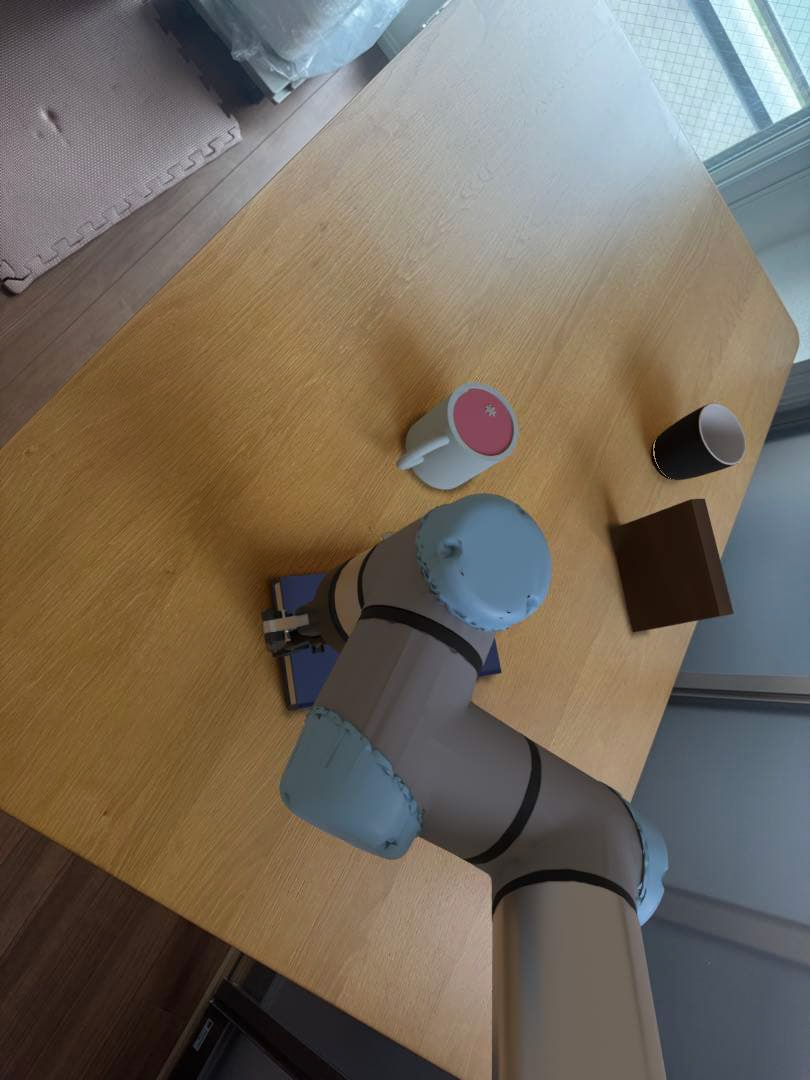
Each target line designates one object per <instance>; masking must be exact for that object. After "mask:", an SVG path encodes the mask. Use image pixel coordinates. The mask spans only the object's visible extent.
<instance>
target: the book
mask: <svg viewBox="0 0 810 1080" xmlns="http://www.w3.org/2000/svg"><path fill="white" fill-rule="evenodd" d="M327 573H328V572H325V573H313V574H303V575H302V574H300V575H290V576H280V577H278V581H273V582H270V587H271V593H272V599H273V606H274V610H279V611H280V610H287V613H293V616H295V612H296V610H297V608H298V607H300V606H302V605H306V604H307V603H309V602H311V601H313V599H314V596H315V593H316V591H317V588H318V586H319V584H320V582H321V581H322V579H323V578H324V577H325V575H326V574H327ZM497 646H498V645H497V640H496V637H495V638H494V640H493V643H492V645H491V648H490V650H489V653H488V655H487V658H486V660H485V663H484V665H483V669H482V671H481V673H480V676H479V678H484V677H490V676H495V675H500V674H502V667H501V662H500V657H499V651H498V647H497ZM324 649H325V652H324V653H318V654H312V650H311V645H310V643H309V648H308V649H306V650H303V651H300V652H297V653H294V654H291V655H288V656H282V657H280V658H281V666H282V674H283V681H284V689H285V695H286V704H287V710H288V712H292V711H293V712H294V711H299V710H305V709H306V710H307V709H310V708H311V707H312V706H313V704H314V703H315V701H316V699H317V697H318V695H319V693H320V691H321V689H322V688H323V686H324V684H325V682H326V680H327V678H328V676H329V674H330V672H331V671H332V669H333V667H334V665H335V663H336V661H337V659H338V657H339V655H340V654H339V653H338V652H336V651H335V650H334V649H332V648H331V647H330V646H329V645H324Z"/></svg>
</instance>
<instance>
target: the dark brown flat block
mask: <svg viewBox="0 0 810 1080" xmlns="http://www.w3.org/2000/svg"><path fill="white" fill-rule="evenodd" d="M712 525H713V524H712V521H711V516H710V514H709V508H708V505H707V501H706V498H691V499H687V500H685V501H682V502H680V503H676V504H674V505H672V506H668V507H666V508H664V509H660V510H658V511H656V512H653V513H650V514H647V515H645V516H642V517H640V518H638V519H637V518H636V519H633V520H631V521H629V522H626V523H623V524H620V525H618V526H615V527H613V528H610V529H609V533H610V537H611V542H612V547H613V552H614V555H615V561H616V564H617V569H618V572H619V573H618V574H619V579H620V583H621V586H622V593H623V596H624V600H625V606H626V610H627V614H628V618H629V623H630V626H631V627H630V628H631V632H632V633H639V632H646V631H651V630H657V629H663V628H666V627H671V626H672V627H673V626H678V625H683V624H689V623H693V622H699V621H704V620H708V619H715V618H719V617H724V616H725V617H726V616H730V615H734V613H735V612H734V610H733V605H732V601H731V597H730V592H729V589H728V585H727V581H726V578H725V573H724V569H723V565H722V561H721V556H720V553H719V549H718V545H717V541H716V538H715V532H714V530H713V526H712Z"/></svg>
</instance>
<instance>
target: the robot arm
mask: <svg viewBox="0 0 810 1080" xmlns="http://www.w3.org/2000/svg"><path fill="white" fill-rule="evenodd" d="M381 539H382V541H380V542H378V543H376V544H375V545H373V546H371V547H369V548H368V549H365V550H364V551H362V552H360V553H358V554H357V555H354V556H351V557H350V558H348V559H346V560H345V561H343V562H341V563H339V564H338V565H336V566H335V567H333V568H332V569H330V570H329V571H328V572H326V573H327V574H326V575H325V577H324V578H323V579H322V581H321V582H320V584H319V586H318V588H317V591H316V593H315V596H314V599H313V601H311V602H309V603H307V604H306V605H302V606H300V607H298V608H297V610H296V612H295V616H293V613H287V610H280V611H279V610H275V609H273V608H266V609H265V610H263V611H260V614H261V621H262V630H263V637H264V644H265V646H266V652H268V653H271V654H272V658H273V659H275V658H281V657H282V656H288V655H291V654H294V653H297V652H300V651H303V650H306V649H308V648H309V643H310V645H311V650H312V654H318V653H324V652H325V649H324V645H329V646H330V647H331V648H332V649H334V650H335V651H336V652H338V653H339V654H340V655H339V657H338V659H337V661H336V663H335V665H334V667H333V669H332V671H331V672H330V674H329V676H328V678H327V680H326V682H325V684H324V686H323V688H322V689H321V691H320V693H319V695H318V697H317V699H316V701H315V703H314V704H313V706H312V707H311V708H308V710H307V712H306V713H305V719H304V724H303V726H302V728H301V731H300V733H299V736H298V738H297V740H296V743H295V745H294V747H293V749H292V752H291V754H290V757H289V759H288V761H287V763H286V765H285V768H284V770H283V772H282V774H281V777H280V780H279V794H280V798H281V800H282V803H283V805H284V806H285V807H286V808H287V809H288V810H289V811H290V812H291V813H292V814H293V815H294V816H296V817H298V818H299V819H301V820H302V821H304V822H306V823H307V824H310V825H311V826H313V827H315V828H316V829H318V830H320V831H322V832H323V833H326V834H328V835H329V836H331V837H334V838H337V839H339V840H341V841H343V842H344V843H347V844H348V845H350V846H352V847H354V848H357V849H359V850H361V851H363V852H366V853H368V854H370V855H373V856H375V857H379V858H380V859H381V858H382V859H385V860H389V861H396V860H399V859H402V858H403V857H404V856H406V854H407V853H408V851H409V850H410V849H411V847H412V845H413V843H414V841H415V840H416V839H417V838H420V839H422V840H424V841H426V842H428V843H430V844H432V845H434V846H436V847H438V848H440V849H442V850H444V851H446V852H448V853H450V854H451V855H454V856H456V857H457V858H460V859H461V860H463V861H464V862H467V863H468V864H470V865H471V866H473V867H475V868H477V869H479V870H480V871H482V872H483V873H485V874H487V875H488V876H489V877H490V882H491V926H492V929H491V931H492V932H491V1080H667V1073H666V1069H665V1068H666V1067H665V1061H664V1056H663V1051H662V1044H661V1039H660V1033H659V1027H658V1021H657V1016H656V1015H657V1014H656V1010H655V1009H656V1008H655V1004H654V998H653V991H652V986H651V980H650V974H649V969H648V962H647V956H646V952H645V945H644V940H643V933H642V927H643V925H644V924H645V923H646V922H648V921H649V919H650V918H651V917H653V915H654V913H655V911H656V910H657V909H658V906H659V904H660V903H661V900H662V898H663V896H664V893H665V887H664V885H663V884H664V883H663V882H664V878H665V873H666V871H668V870H669V855H668V850H667V845H666V842H665V839H664V837H663V835H662V833H661V831H660V830H659V828H658V826H657V825H656V823H655V822H654V821H653V820H652V819H651V818H650V817H649V816H648V815H647V814H645V813H644V812H643V811H642V810H640V809H639V808H637V807H636V806H635V805H633V804H632V803H631V802H629V801H628V800H627V799H626V798H625V797H623V795H622V794H621V793H620V792H619V791H618V790H617V789H615V788H614V787H612V786H610V785H608V783H607V784H606V783H605V782H603V781H601V780H598V779H596V778H594V777H592V776H591V775H589V774H587V772H585V771H583V770H581V769H580V768H578V767H577V766H575V765H573V764H571V763H570V762H568V761H566V760H565V759H563V758H562V757H560V756H558V755H557V754H555V753H554V752H552V751H551V750H549V749H547V748H545V747H544V746H543V745H541V744H539V743H537V742H536V741H534V740H532V739H530V738H529V737H528V736H526V735H524V734H523V733H521V732H520V731H517V730H516V729H514V728H513V727H511V726H510V725H508V724H507V723H505V722H503V721H502V720H501V719H499V718H498V717H496V716H494V715H492V714H491V713H490V712H488V711H487V710H485V709H483V708H482V707H480V706H478V705H477V704H476V703H474V702H473V701H472V698H473V695H474V692H475V688H476V687H475V686H476V684H477V682H478V681H479V679H480V677H479V676H480V673H481V671H482V669H483V665H484V663H485V660H486V658H487V655H488V653H489V650H490V648H491V645H492V643H493V640H494V638H495V639H496V635H497V633H498V632H504V631H505V630H509V628H510V627H513V626H515V625H516V624H519V623H521V622H523V621H524V620H526V619H528V618H529V617H530V616H531V615H532V614H534V613H535V612H536V611H537V610H538V608H539V607H540V606H541V605H542V604H543V602H544V601H545V599H546V598H547V594H548V593H549V589H550V586H551V581H552V557H551V551H550V548H549V546H548V542H547V538H546V536H545V535H544V532H543V530H542V529H541V527H540V526H539V524H538V523H537V522H536V520H535V519H534V518H533V517H532V516H531V514H529V512H527V511H526V510H525V509H523V508H522V506H520V504H518V503H516V502H515V501H513V500H512V499H510V498H507V497H504V496H502V495H500V494H499V495H498V494H494V493H488V492H485V493H484V492H482V493H481V492H479V493H473V494H469V495H466V496H463V497H461V498H458V499H457V500H454V501H452V502H450V503H443V504H440V505H439V506H438V505H436V506H435V507H434V508H431V509H429V510H428V511H427V512H426V513H425V514H423V515H422V516H421V517H418V519H415V520H414V521H412V522H411V523H408V525H406V526H404V527H403V528H401V529H399V530H397V531H395V532H393V531H386V532H384V533H383V534H382V535H381ZM641 926H642V927H641Z"/></svg>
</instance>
